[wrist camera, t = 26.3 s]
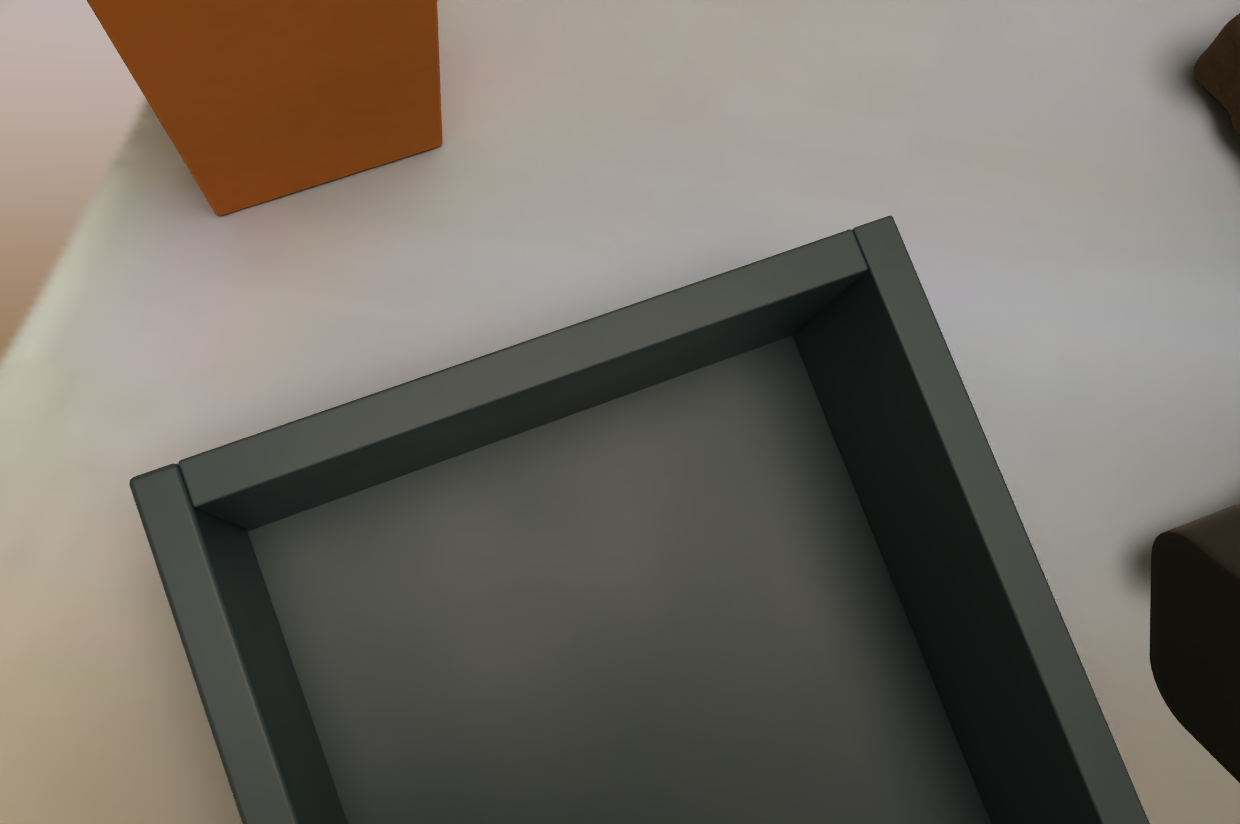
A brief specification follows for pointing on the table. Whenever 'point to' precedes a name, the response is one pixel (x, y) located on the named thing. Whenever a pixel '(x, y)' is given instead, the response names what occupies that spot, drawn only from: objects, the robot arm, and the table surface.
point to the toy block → (283, 86)
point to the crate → (643, 580)
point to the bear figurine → (1223, 69)
